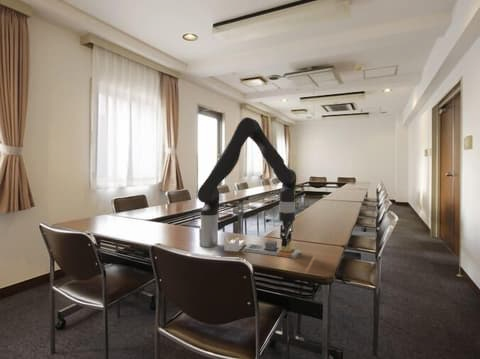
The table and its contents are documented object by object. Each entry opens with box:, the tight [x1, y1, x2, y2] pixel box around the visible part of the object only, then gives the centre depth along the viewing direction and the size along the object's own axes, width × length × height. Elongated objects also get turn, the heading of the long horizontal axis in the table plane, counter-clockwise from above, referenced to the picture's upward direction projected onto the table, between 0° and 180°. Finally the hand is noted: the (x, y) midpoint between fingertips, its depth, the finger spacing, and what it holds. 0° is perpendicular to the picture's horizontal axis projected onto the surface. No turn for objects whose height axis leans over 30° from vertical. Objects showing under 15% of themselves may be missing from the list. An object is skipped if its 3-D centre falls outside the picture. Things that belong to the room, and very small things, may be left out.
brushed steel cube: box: [264, 240, 278, 252], centre depth 136 cm, size 4×4×5 cm
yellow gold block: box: [280, 239, 294, 253], centre depth 132 cm, size 4×4×6 cm
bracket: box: [223, 236, 246, 253], centre depth 144 cm, size 13×7×8 cm, turn 164°
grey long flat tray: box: [243, 243, 300, 259], centre depth 136 cm, size 26×9×3 cm, turn 65°
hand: (286, 244), depth 132 cm, fingers open, 8 cm apart
